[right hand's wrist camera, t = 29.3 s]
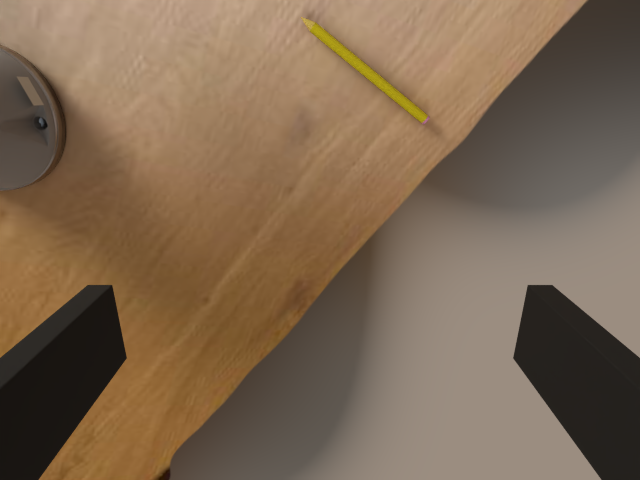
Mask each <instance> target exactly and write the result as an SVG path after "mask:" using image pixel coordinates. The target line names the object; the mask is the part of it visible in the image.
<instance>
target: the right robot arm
mask: <svg viewBox="0 0 640 480" xmlns="http://www.w3.org/2000/svg"><path fill="white" fill-rule="evenodd" d="M65 137H66V129H65V121H64V116H63V112H62V109H61V106H60V103H59V101H58V99H57V97H56V95H55V93H54V91H53V89H52V88H51V86H50V85H49V83H48V82H47V80H46V79H45V78H44V77H43V75H42V74H41V73H40V72H39V71H38V70H37V69H36V68H35V67H34V66H33V65H32V64H31V63H30V62H29V61H27V60H26V59H25V58H23V57H22V56H21V55H19V54H18V53H16V52H14V51H13V50H11V49H9V48H7V47H4V46H2V45H0V191H5V190H13V189H18V188H21V187H24V186H27V185H30V184H33V183H36V182H38V181H40V180H41V179H43V178H45V177H46V176H47V175H48V174H49V173H50V172H51V171H52V170H53V169H54V168H55V167H56V165H57V164H58V162H59V160H60V158H61V156H62V153H63V150H64V145H65ZM126 358H127V357H126V352H125V347H124V342H123V337H122V332H121V327H120V322H119V317H118V312H117V307H116V302H115V297H114V292H113V287H112V285H87V286H86V287H85V288H84V289H83V290H81V291H80V292H79V293H78V294H77V295H75V296H74V297H73V298H72V299H71V300H69V301H68V302H67V303H66V304H65V305H63V306H62V307H61V308H60V309H59V310H57V311H56V312H55V313H54V314H53V315H51V316H50V317H49V318H48V319H47V320H45V321H44V322H43V323H42V324H41V325H39V326H38V327H37V328H36V329H35V330H33V331H32V332H31V333H30V334H29V335H27V336H26V337H25V338H24V339H23V340H21V341H20V342H19V343H18V344H16V345H15V346H14V347H13V348H12V349H10V350H9V351H8V352H7V353H6V354H4V355H3V356H2V357H1V358H0V480H39V478H40V477H41V475H42V474H43V473H44V471H45V470H46V469H47V467H48V466H49V464H50V463H51V462H52V460H53V459H54V458H55V456H56V455H57V453H58V452H59V451H60V449H61V448H62V447H63V445H64V444H65V442H66V441H67V440H68V438H69V437H70V436H71V434H72V433H73V431H74V430H75V429H76V427H77V426H78V424H79V423H80V422H81V420H82V419H83V418H84V416H85V415H86V413H87V412H88V411H89V409H90V408H91V407H92V405H93V404H94V402H95V401H96V400H97V398H98V397H99V396H100V394H101V393H102V391H103V390H104V389H105V387H106V386H107V385H108V383H109V382H110V380H111V379H112V378H113V376H114V375H115V374H116V372H117V371H118V369H119V368H120V367H121V365H122V364H123V363H124V361H125V360H126ZM513 358H514V360H515V361H516V363H517V364H518V365H519V367H520V368H521V369H522V371H523V372H524V374H525V375H526V376H527V378H528V379H529V380H530V382H531V383H532V385H533V386H534V387H535V389H536V390H537V391H538V393H539V394H540V396H541V397H542V398H543V400H544V401H545V402H546V404H547V405H548V407H549V408H550V409H551V411H552V412H553V413H554V415H555V416H556V418H557V419H558V420H559V422H560V423H561V424H562V426H563V427H564V429H565V430H566V431H567V433H568V434H569V436H570V437H571V438H572V440H573V441H574V442H575V444H576V445H577V447H578V448H579V449H580V450H581V452H582V453H583V455H584V456H585V458H586V459H587V460H588V462H589V463H590V464H591V466H592V467H593V469H594V470H595V471H596V473H597V474H598V475H599V477H600V478H601V480H640V358H639V357H638V356H637V355H636V354H634V353H633V352H632V351H631V350H630V349H628V348H627V347H626V346H625V345H624V344H622V343H621V342H620V341H619V340H617V339H616V338H615V337H614V336H613V335H611V334H610V333H609V332H608V331H607V330H605V329H604V328H603V327H602V326H601V325H599V324H598V323H597V322H596V321H595V320H593V319H592V318H591V317H590V316H589V315H587V314H586V313H585V312H584V311H583V310H581V309H580V308H579V307H578V306H577V305H575V304H574V303H573V302H572V301H571V300H569V299H568V298H567V297H566V296H565V295H563V294H562V293H561V292H560V291H559V290H557V289H556V288H555V287H554V286H553V285H528V287H527V292H526V297H525V302H524V307H523V312H522V317H521V322H520V327H519V332H518V337H517V342H516V347H515V352H514V357H513Z"/></svg>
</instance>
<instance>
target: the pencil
mask: <svg viewBox="0 0 640 480" xmlns="http://www.w3.org/2000/svg"><path fill="white" fill-rule="evenodd" d="M301 18H302V17H301ZM302 20H303V21H304V23H305V25H306V26H307V28H308V29H309V31H310V32H311V33H312V34H314V35H315V36H316V37H317V38H319V39H320V40H321V41H322V42H323V43H325V44H326V45H327V46H328V47H329V48H331V49H332V50H333V51H334V52H336V53H337V54H338V55H339V56H340V57H342V58H343V59H344V60H345V61H347V62H348V63H349V64H350V65H351V66H353V67H354V68H355V69H356V70H358V71H359V72H360V73H361V74H362V75H364V76H365V77H366V78H367V79H368V80H370V81H371V82H372V83H373V84H375V85H376V86H377V87H378V88H379V89H381V90H382V91H383V92H384V93H386V94H387V95H388V96H389V97H390V98H392V99H393V100H394V101H395V102H397V103H398V104H399V105H400V106H401V107H403V108H404V109H405V110H406V111H407V112H409V113H410V114H411V115H412V116H414V117H415V118H416V119H417V120H418V121H420V122H421V123H422V124H425V123H426V122H427V121H428V120H429V116H428V115H427V114H425V113H424V112H423V111H422V110H421V109H419V108H418V107H417V106H416V105H415V104H413V103H412V102H411V101H410V100H409V99H407V98H406V97H405V96H404V95H403V94H401V93H400V92H399V91H398V90H397V89H395V88H394V87H393V86H392V85H390V84H389V83H388V82H387V81H386V80H384V79H383V78H382V77H381V76H380V75H378V74H377V73H376V72H375V71H374V70H372V69H371V68H370V67H369V66H368V65H366V64H365V63H364V62H363V61H362V60H360V59H359V58H358V57H357V56H355V55H354V54H353V53H352V52H351V51H349V50H348V49H347V48H346V47H345V46H343V45H342V44H341V43H340V42H339V41H337V40H336V39H335V38H334V37H333V36H331V35H330V34H329V33H328V32H327V31H325V30H324V29H323V28H322V27H321V26H319V25H318V24H317V23H316V22H313V21H310V20H308V19H305V18H302Z"/></svg>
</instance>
